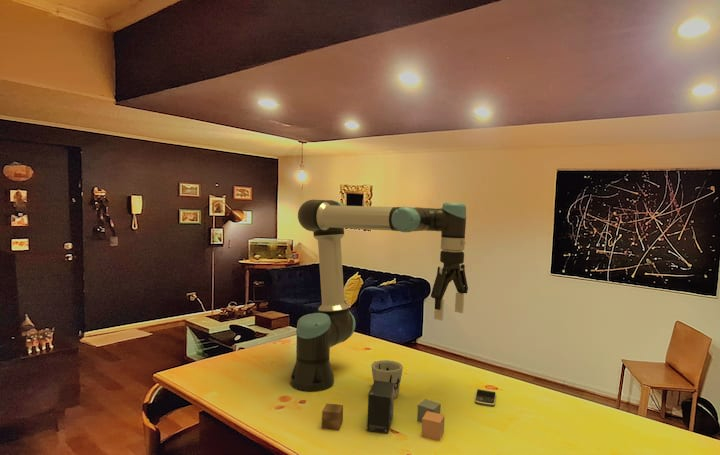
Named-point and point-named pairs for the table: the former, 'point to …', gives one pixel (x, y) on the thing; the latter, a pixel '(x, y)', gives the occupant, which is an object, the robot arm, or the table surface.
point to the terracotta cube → (433, 425)
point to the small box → (380, 406)
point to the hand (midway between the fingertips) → (449, 315)
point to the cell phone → (485, 397)
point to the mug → (388, 373)
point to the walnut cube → (332, 416)
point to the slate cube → (427, 408)
